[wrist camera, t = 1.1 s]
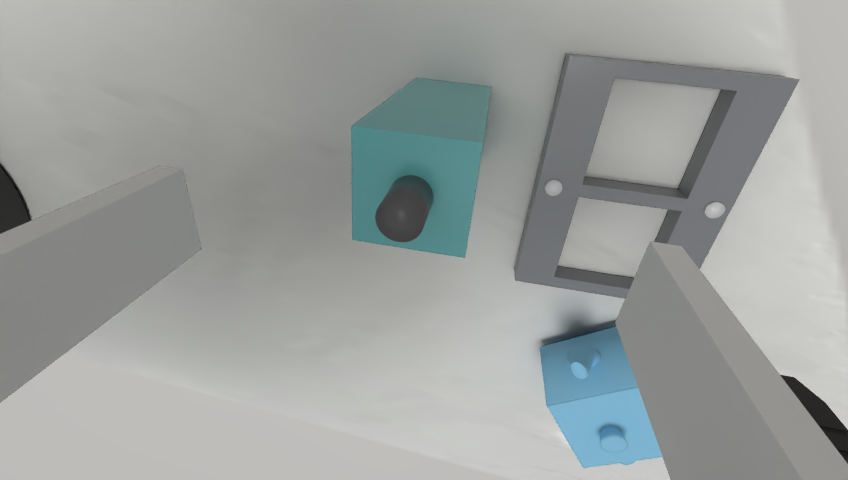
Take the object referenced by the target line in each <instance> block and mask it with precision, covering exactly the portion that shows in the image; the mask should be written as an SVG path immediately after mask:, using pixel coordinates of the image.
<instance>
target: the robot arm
mask: <svg viewBox="0 0 848 480" xmlns="http://www.w3.org/2000/svg"><path fill="white" fill-rule="evenodd" d="M200 250H201V245H200V240H199V236H198V232H197V228H196V223H195V219H194V215H193V211H192V207H191V202H190V198H189V194H188V190H187V185H186V181H185V177H184V173H183V169H177V168H171V167H164V166H157V167H155V168H153V169H150V170H148V171H146V172H143V173H141V174H139V175H136V176H134V177H132V178H129V179H127V180H125V181H122V182H120V183H118V184H115V185H113V186H111V187H108V188H106V189H104V190H101V191H99V192H97V193H94V194H92V195H90V196H87V197H85V198H83V199H80V200H78V201H76V202H73V203H71V204H69V205H67V206H64V207H62V208H60V209H57V210H55V211H53V212H50V213H48V214H46V215H43V216H41V217H39V218H36V219H34V220H32V221H29V219H28V215H27V212H26V209H25V206H24V204H23V202H22V200H21V198H20V196H19V194H18V192H17V190H16V189H15V187H14V185H13V184H12V182H11V181H10V179H9V178H8V176H7V175H6V174H5V172H4V171H3V170H2V168H1V167H0V402H2V401H3V400H4V399H6V398H7V397H8V396H9V395H11V394H12V393H14V392H15V391H16V390H17V389H19V388H20V387H21V386H23V385H24V384H25V383H27V382H28V381H29V380H30V379H32V378H33V377H34V376H36V375H37V374H38V373H40V372H41V371H42V370H44V369H45V368H46V367H47V366H49V365H50V364H52V363H53V362H54V361H55V360H57V359H58V358H59V357H61V356H62V355H63V354H65V353H66V352H67V351H69V350H70V349H71V348H73V347H74V346H75V345H76V344H78V343H79V342H80V341H82V340H83V339H84V338H86V337H87V336H88V335H90V334H91V333H92V332H93V331H95V330H96V329H97V328H99V327H100V326H101V325H103V324H104V323H105V322H107V321H108V320H109V319H111V318H112V317H113V316H114V315H116V314H117V313H118V312H120V311H121V310H122V309H124V308H125V307H126V306H128V305H129V304H130V303H131V302H133V301H134V300H135V299H137V298H138V297H139V296H141V295H142V294H143V293H145V292H146V291H147V290H149V289H150V288H151V287H152V286H154V285H155V284H156V283H158V282H159V281H160V280H162V279H163V278H164V277H166V276H167V275H168V274H169V273H171V272H172V271H173V270H175V269H176V268H177V267H179V266H180V265H181V264H183V263H184V262H185V261H187V260H188V259H189V258H190V257H192V256H193V255H194V254H196V253H197V252H198V251H200ZM615 324H616V327H617V330H618V332H619V335H620V338H621V341H622V344H623V346H624V349H625V352H626V355H627V358H628V361H629V363H630V366H631V369H632V372H633V375H634V378H635V380H636V383H637V386H638V389H639V392H640V394H641V397H642V400H643V403H644V406H645V409H646V411H647V414H648V417H649V420H650V423H651V425H652V428H653V431H654V434H655V437H656V440H657V442H658V445H659V448H660V451H661V454H662V456H663V459H664V462H665V465H666V468H667V471H668V473H669V476H670V479H671V480H848V430H847V428H846V427H845V426H844V425H843V424H842V422H841V421H840V420H839V419H838V418H837V416H836V415H835V414H834V413H833V412H832V410H831V409H830V408H829V407H828V405H827V404H826V403H825V402H824V401H822V400H821V399H820V398H819V397H818V396H816V395H815V394H814V393H813V392H811V391H810V390H809V389H808V388H806V387H805V386H804V385H803V384H802V383H800V382H799V381H798V380H797V379H795V378H794V377H789V376H784V375H780V374H779V373H778V372H777V370H776V369H775V368H774V367H773V365H772V364H771V363H770V361H769V360H768V359H767V357H766V356H765V355H764V353H763V352H762V351H761V349H760V348H759V347H758V346H757V344H756V343H755V342H754V340H753V339H752V338H751V336H750V335H749V334H748V332H747V331H746V330H745V328H744V327H743V326H742V325H741V323H740V322H739V321H738V319H737V318H736V317H735V315H734V314H733V313H732V311H731V310H730V309H729V308H728V306H727V305H726V304H725V302H724V301H723V300H722V298H721V297H720V296H719V294H718V293H717V292H716V290H715V289H714V288H713V287H712V285H711V284H710V283H709V281H708V280H707V279H706V277H705V276H704V275H703V273H702V272H701V271H700V270H699V268H698V267H697V266H696V264H695V263H694V262H693V260H692V259H691V258H690V256H689V255H688V254H687V252H686V251H685V250H684V249H683V247H682V246H677V245H671V244H664V243H658V242H651V241H650V243H649V245H648V247H647V250H646V252H645V254H644V257H643V259H642V261H641V264H640V266H639V268H638V271H637V273H636V275H635V278H634V280H633V282H632V285H631V287H630V289H629V292H628V294H627V296H626V298H625V301H624V303H623V305H622V308H621V310H620V312H619V315H618V317H617V319H616V322H615Z"/></svg>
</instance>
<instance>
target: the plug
mask: <svg viewBox="0 0 848 480" xmlns="http://www.w3.org/2000/svg"><path fill="white" fill-rule="evenodd" d="M490 93H491V87H490V86H481V85H473V84H464V83H455V82H447V81H438V80H429V79H421V78H416V79H414V80H413V81H412V82H410V83H409V84H408V85H406V86H405V87H404V88H402V89H401V90H399V91H398V92H397V93H395V94H394V95H393V96H391V97H390V98H389V99H387V100H386V101H385V102H383V103H382V104H380V105H379V106H378V107H376V108H375V109H374V110H372V111H371V112H370V113H368V114H367V115H366V116H364V117H363V118H362V119H360V120H359V121H357V122H356V123H355V124H353V125H352V126H351V142H352V240H357V241H364V242H370V243H376V244H382V245H388V246H395V247H401V248H407V249H413V250H419V251H426V252H432V253H438V254H444V255H450V256H457V257H463V258H465V254H466V248H467V242H468V235H469V229H470V223H471V217H472V211H473V204H474V198H475V192H476V186H477V179H478V173H479V167H480V161H481V155H482V148H483V142H484V135H485V128H486V121H487V114H488V107H489V100H490Z"/></svg>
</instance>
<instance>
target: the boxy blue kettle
mask: <svg viewBox="0 0 848 480" xmlns="http://www.w3.org/2000/svg"><path fill="white" fill-rule="evenodd" d="M540 353H541V362H542V371H543V380H544V388H545V397H546V405H547V407H548V408H549V410H550V412H551V413H552V415H553V417H554V419H555V420H556V422H557V424H558V426H559V427H560V429H561V431H562V433H563V434H564V436H565V438H566V440H567V441H568V443H569V445H570V446H571V448H572V450H573V451H574V453H575V455H576V456H577V458H578V460H579V461H580V463H581V465H582V467H583V468H588V467H594V466H602V465H609V464H616V463H621V464H624V465H629V464H632V463H634V462H635V461H638V460H644V459H651V458H658V457H663V456H662V454H661V451H660V448H659V445H658V442H657V440H656V437H655V434H654V431H653V428H652V425H651V423H650V420H649V417H648V414H647V411H646V409H645V406H644V403H643V400H642V397H641V394H640V392H639V389H638V386H637V383H636V380H635V378H634V375H633V372H632V369H631V366H630V363H629V361H628V358H627V355H626V352H625V349H624V346H623V344H622V341H621V338H620V335H619V332H618V330H617V327H612V328H609V329H605V330H601V331H597V332H594V333H590V334H586V335H582V336H579V337H575V338H571V339H567V340H564V341H560V342H556V343H552V344H549V345H545V346H541V347H540Z"/></svg>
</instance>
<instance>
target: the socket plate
mask: <svg viewBox="0 0 848 480" xmlns="http://www.w3.org/2000/svg"><path fill="white" fill-rule="evenodd" d="M615 78H623V79H632V80H641V81H650V82H660V83H669V84H678V85H687V86H696V87H705V88H715V89H722V90H721V92H720V94H719V97H718V99H717V101H716V103H715V106H714V108H713V110H712V113H711V115H710V117H709V119H708V122H707V124H706V126H705V129H704V131H703V133H702V135H701V138H700V140H699V142H698V144H697V147H696V149H695V151H694V154H693V156H692V158H691V160H690V163H689V165H688V167H687V170H686V172H685V174H684V176H683V179H682V181H681V183H680V185H679V188H678V189H671V188H664V187H657V186H649V185H642V184H634V183H627V182H620V181H612V180H605V179H597V178H590V177H585V174H586V171H587V167H588V164H589V161H590V157H591V154H592V151H593V148H594V144H595V141H596V138H597V135H598V131H599V128H600V125H601V121H602V118H603V115H604V112H605V108H606V105H607V102H608V99H609V95H610V92H611V89H612V85H613V82H614V79H615ZM798 82H799V80H798V79H794V78H789V77H784V76H779V75H769V74H759V73H750V72H740V71H731V70H721V69H711V68H702V67H692V66H683V65H673V64H663V63H654V62H644V61H635V60H625V59H615V58H606V57H596V56H587V55H577V54H567V53H566V56H565V60H564V64H563V68H562V72H561V76H560V81H559V85H558V89H557V93H556V97H555V101H554V106H553V110H552V114H551V118H550V122H549V126H548V131H547V135H546V139H545V143H544V147H543V151H542V156H541V160H540V164H539V168H538V172H537V176H536V180H535V185H534V189H533V193H532V197H531V201H530V205H529V210H528V214H527V218H526V222H525V226H524V230H523V235H522V239H521V243H520V247H519V251H518V255H517V260H516V264H515V268H514V272H515V280H516V281H522V282H528V283H534V284H540V285H546V286H552V287H558V288H564V289H570V290H577V291H583V292H589V293H595V294H601V295H607V296H613V297H619V298H626V296H627V294H628V292H629V289H630V287H631V285H632V282H633V280H634V278H629V277H623V276H617V275H611V274H604V273H598V272H592V271H585V270H579V269H573V268H567V267H560V266H558V262H559V259H560V256H561V252H562V249H563V246H564V243H565V239H566V236H567V233H568V229H569V226H570V223H571V220H572V216H573V213H574V210H575V207H576V203H577V200H578V197H583V198H590V199H598V200H605V201H612V202H619V203H626V204H633V205H640V206H647V207H654V208H662V209H669V210H668V213H667V215H666V217H665V220H664V222H663V224H662V226H661V229H660V231H659V233H658V236H657V238H656V240H655V242H658V243H664V244H671V245H677V246H682V247H683V249H684V250H685V251H686V252H687V254H688V255H689V256H690V258H691V259H692V260H693V262H694V263H695V264H696V266H697V267H698V268H699V269H700V267H701V266H702V264H703V262H704V260H705V258H706V256H707V254H708V252H709V250H710V249H711V247H712V245H713V243H714V241H715V239H716V237H717V235H718V233H719V231H720V230H721V228H722V226H723V224H724V222H725V220H726V218H727V216H728V214H729V212H730V211H731V209H732V207H733V205H734V203H735V201H736V199H737V197H738V195H739V194H740V192H741V190H742V188H743V186H744V184H745V182H746V180H747V178H748V176H749V175H750V173H751V171H752V169H753V167H754V165H755V163H756V161H757V159H758V157H759V156H760V154H761V152H762V150H763V148H764V146H765V144H766V142H767V140H768V139H769V137H770V135H771V133H772V131H773V129H774V127H775V125H776V123H777V121H778V120H779V118H780V116H781V114H782V112H783V110H784V108H785V106H786V104H787V102H788V101H789V99H790V97H791V95H792V93H793V91H794V89H795V87H796V85H797V84H798Z"/></svg>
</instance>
